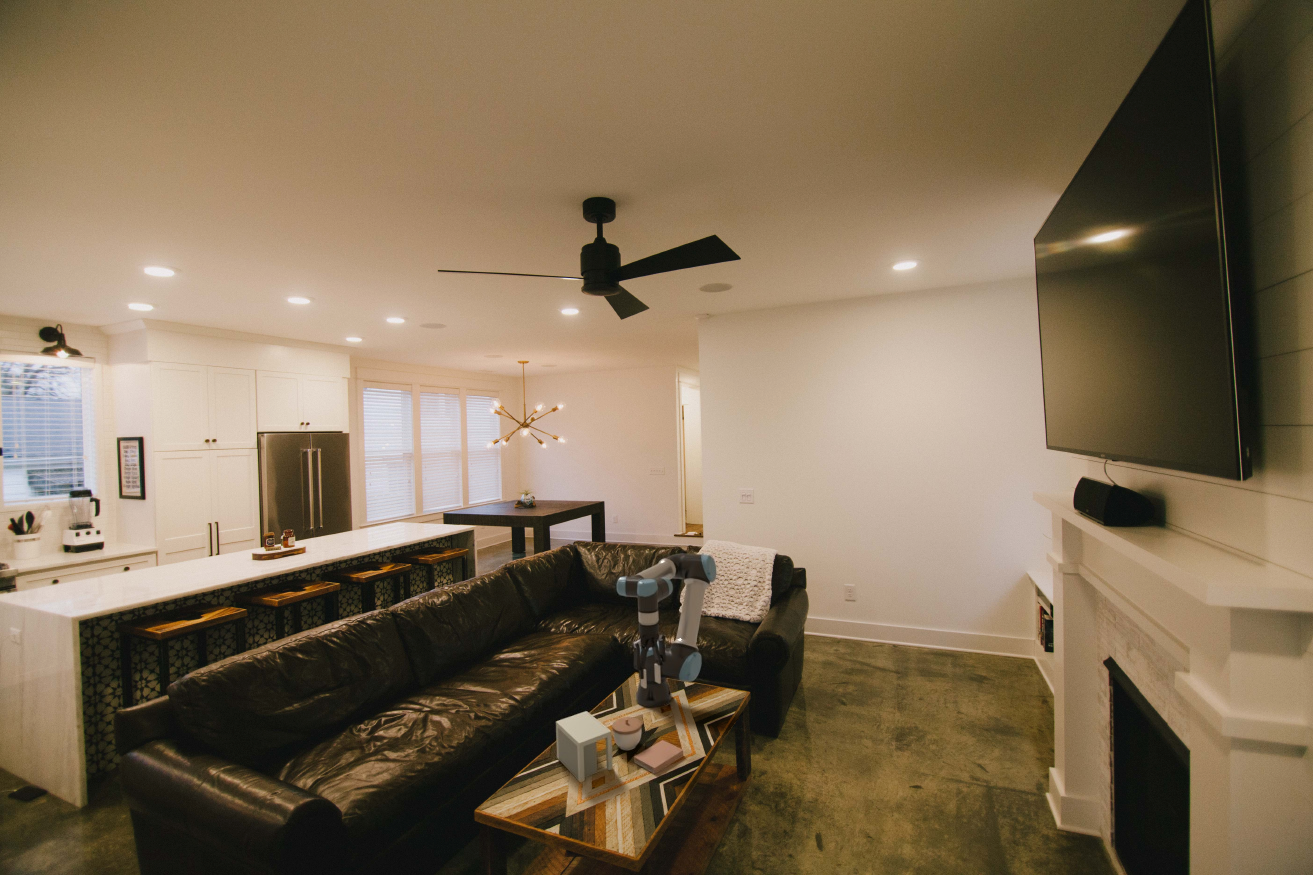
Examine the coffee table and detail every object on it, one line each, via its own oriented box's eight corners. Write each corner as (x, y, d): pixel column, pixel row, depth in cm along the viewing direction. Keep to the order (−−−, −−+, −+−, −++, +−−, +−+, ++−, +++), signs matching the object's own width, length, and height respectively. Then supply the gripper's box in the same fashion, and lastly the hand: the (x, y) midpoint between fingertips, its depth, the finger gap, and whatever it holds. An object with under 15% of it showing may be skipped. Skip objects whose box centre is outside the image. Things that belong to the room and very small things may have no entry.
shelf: (587, 745, 195) (586, 710, 196) (612, 768, 181) (611, 730, 181) (557, 757, 188) (555, 721, 189) (580, 782, 174) (579, 743, 174)
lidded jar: (629, 757, 187) (628, 729, 187) (606, 747, 193) (605, 721, 194) (648, 743, 196) (647, 717, 196) (626, 734, 202) (625, 709, 202)
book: (662, 746, 194) (662, 739, 194) (683, 757, 187) (683, 749, 187) (634, 763, 184) (634, 756, 184) (655, 775, 177) (654, 767, 177)
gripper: (663, 614, 210) (665, 674, 210) (622, 624, 200) (624, 688, 199) (674, 619, 204) (676, 680, 204) (632, 630, 193) (635, 695, 193)
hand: (650, 684), depth 201 cm, fingers open, 6 cm apart
